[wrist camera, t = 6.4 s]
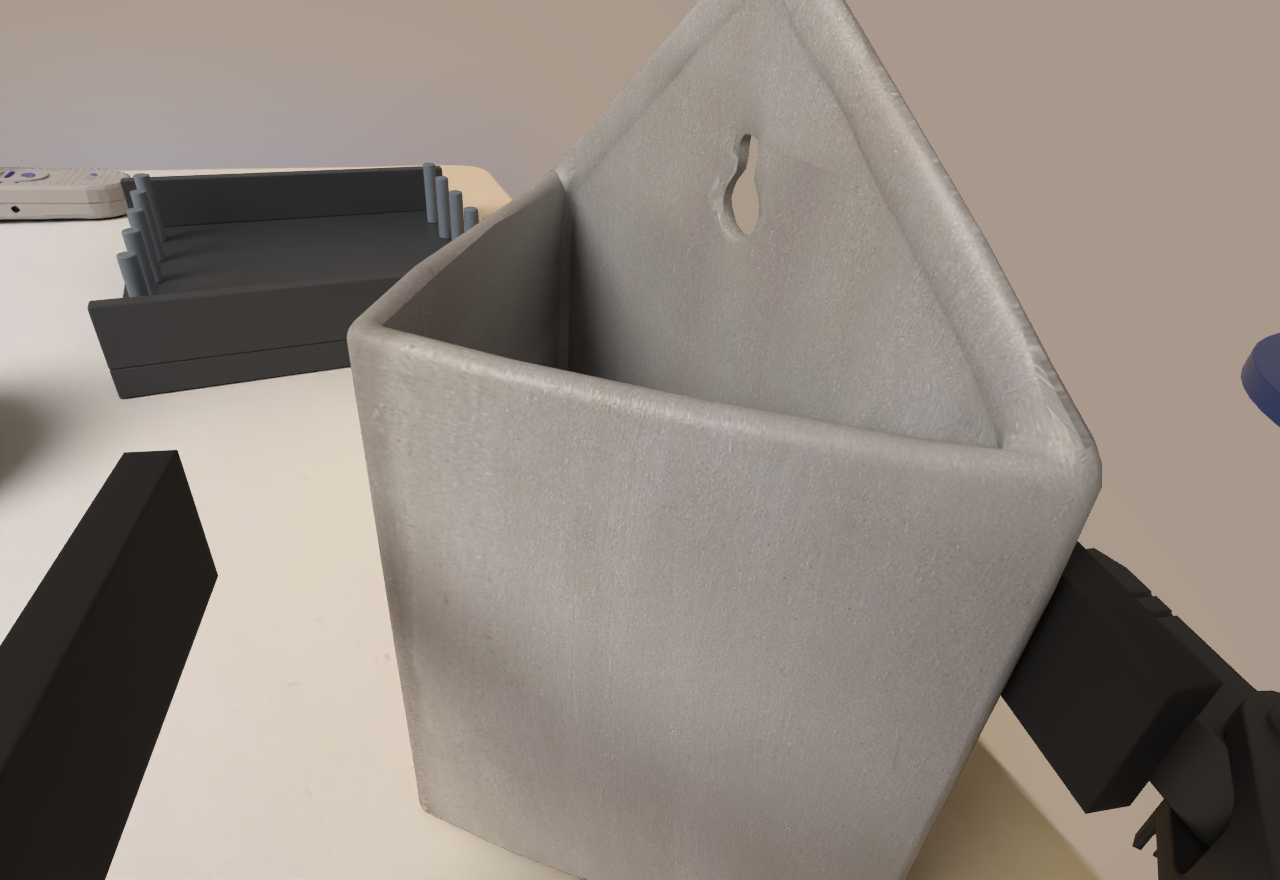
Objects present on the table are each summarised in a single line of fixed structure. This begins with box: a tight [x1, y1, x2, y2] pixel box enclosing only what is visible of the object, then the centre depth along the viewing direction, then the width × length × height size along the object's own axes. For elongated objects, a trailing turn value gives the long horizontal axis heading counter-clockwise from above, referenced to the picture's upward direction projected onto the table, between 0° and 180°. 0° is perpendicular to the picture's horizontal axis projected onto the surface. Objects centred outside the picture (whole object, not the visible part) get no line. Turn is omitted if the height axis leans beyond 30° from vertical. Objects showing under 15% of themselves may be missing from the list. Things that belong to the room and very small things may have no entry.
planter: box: [347, 0, 1102, 880], centre depth 16 cm, size 16×8×19 cm, turn 30°
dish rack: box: [88, 163, 479, 398], centre depth 44 cm, size 20×21×6 cm
